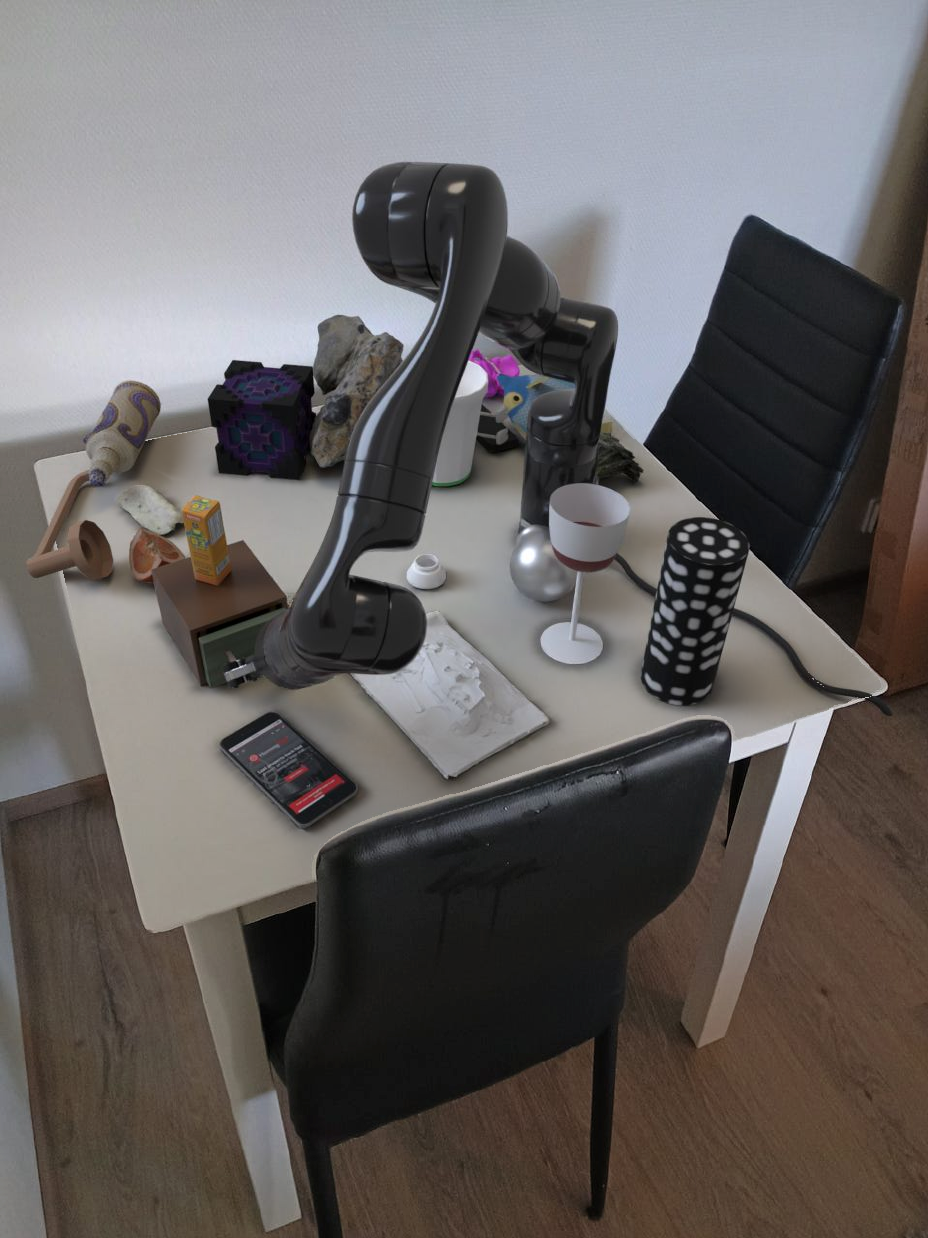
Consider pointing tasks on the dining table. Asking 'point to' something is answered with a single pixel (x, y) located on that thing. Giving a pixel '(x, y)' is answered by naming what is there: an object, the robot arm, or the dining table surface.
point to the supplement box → (206, 540)
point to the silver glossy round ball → (539, 566)
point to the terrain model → (453, 701)
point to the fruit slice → (150, 554)
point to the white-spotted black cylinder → (693, 609)
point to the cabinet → (212, 599)
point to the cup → (461, 428)
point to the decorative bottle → (121, 430)
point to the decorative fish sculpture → (530, 397)
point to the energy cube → (263, 419)
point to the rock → (347, 380)
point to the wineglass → (582, 557)
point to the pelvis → (495, 370)
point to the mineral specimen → (615, 459)
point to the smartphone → (288, 768)
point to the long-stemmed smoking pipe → (73, 542)
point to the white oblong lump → (150, 509)
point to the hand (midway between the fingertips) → (264, 663)
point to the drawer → (231, 642)
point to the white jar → (426, 572)
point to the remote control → (493, 433)
